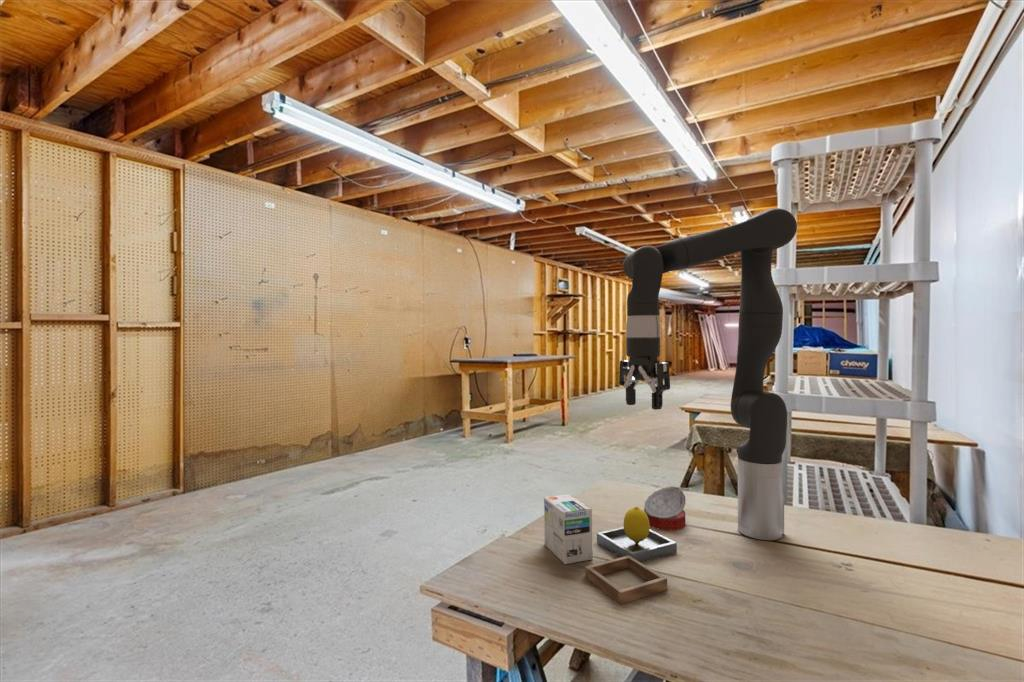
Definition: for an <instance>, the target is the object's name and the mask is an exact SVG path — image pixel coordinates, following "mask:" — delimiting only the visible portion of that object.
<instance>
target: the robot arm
mask: <svg viewBox="0 0 1024 682" xmlns="http://www.w3.org/2000/svg"><path fill="white" fill-rule="evenodd" d="M797 230H798V223H797V220H796V218H795V216H794V215H793V213H791V212H790V211H788V209H783V208H778V207H777V208H776V207H775V208H770V209H766V210H763V211H761V212H759V213H757V214H754V215H753V216H750V217H749V218H747V219H746V220H745V221H742V222H739V223H736V224H732V225H729V226H724V227H721V228H718V229H717V228H716V229H712V230H709V231H705V232H704V231H703V232H700V233H695V234H691V235H686V236H683V237H679V238H675V239H672V240H669V241H667V242H665V243H664V244H660V245H656V246H652V245H644V246H641V247H639V248H637V249H635V250H633V251H631V252H629V254H627V255H626V256H625V258H624V260H623V263H622V270H623V272H624V274H625V276H626V277H627V278H629V279H630V280H632V282H631V289H630V291H629V292H628V294H627V298H626V316H627V317H626V322H625V323H626V324H625V354H626V355H625V356H627V357H629V359H623V360H620V361H619V371H618V374H619V375H618V385H619V386H623V388H624V389H625V402H626V405H627V406H633V405H636V403H637V402H636V401H637V398H636V395H637V394H636V388H635V387H636V385H637V384H638V382H640V381H643V382H645V383H646V385H648V386H649V387H650V389H651V391H652V392H651V409H652V410H656V411H657V410H661V409H662V408H663V393H664V392H665V391H669V390H670V389H671V379H670V378H671V377H670V363H669V362H659V361H658V357H660V356H661V323H660V308H659V306H660V303H659V295H660V291H661V286H662V280H663V275H664V274H667V273H668V272H673V271H679V270H680V271H681V270H685V269H688V268H691V267H695V266H699V265H703V264H706V263H708V262H712V261H715V260H717V259H720V258H723V257H726V256H729V255H732V254H736V253H739V252H740V269H741V275H740V276H741V277H740V278H741V279H740V295H739V296H740V297H739V298H740V300H739V309H738V310H739V312H738V330H737V331H738V333H737V334H738V339H737V350H736V352H737V353H736V365H735V375H734V380H733V386H732V392H731V397H730V398H731V399H730V413H731V416H732V418H733V419H732V420H734V422H735V423H736V424H737V425H739V426H741V427H744V428H747V429H749V437H748V441H747V442H745V443H741V444H739V445H738V447H737V530H738V531H739V533H741V534H742V535H744V536H745V537H748V538H752V539H756V540H760V541H776V540H780V539H782V537H783V534H785V493H784V492H783V464H782V463H783V453H785V452H784V451H785V449H786V445H787V431H788V410H787V406H786V403H785V401H784V399H783V398H782V397H781V395H779V394H778V393H775V392H771V391H770V392H769V391H765V390H764V380H765V378H764V377H765V371H766V368H767V365H768V363H769V361H770V359H771V357H772V356H773V354H774V352H775V351H776V348H777V346H778V345H779V342H780V341H781V337H782V334H783V320H784V319H783V317H784V307H783V302H782V299H781V295H780V294H779V291H778V289H777V287H776V284H775V282H774V279H773V276H772V259H773V251H774V250H777V249H780V248H783V247H784V246H786V245H788V244H789V243H790V242H791V241H792V240H793V239H794V238H795V236H796V234H797Z"/></svg>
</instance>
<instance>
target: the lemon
mask: <svg viewBox="0 0 1024 682" xmlns="http://www.w3.org/2000/svg"><path fill="white" fill-rule="evenodd" d="M623 517H624V518H623V527H624V531H625V533H626V535H627V537H628V538H629V539H631V540H632V541H634V542H635V543H636V544H638V543H639V542H640V541H643V540H645V539H646V538H647V536H648V534H649V530H650V529H651V527H650V524H649V519H648V516H647V514H646V513H645V512H644V509H642V508H639V507H638V506H634V507H632V508H630V509H629V510H627V511H626V512H625V514H624V516H623Z"/></svg>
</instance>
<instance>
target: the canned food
mask: <svg viewBox="0 0 1024 682" xmlns="http://www.w3.org/2000/svg"><path fill="white" fill-rule="evenodd" d="M686 505H687V504H686V495H685V493H684V491H683V490H682V489H680V487H678V486H677V487H676V486H672V485H671V486H667V487H663V488H661V489H658V490H655V491H654V492H653V493H651V494H650V495H649V496H648V497H647V499H646V500H645V502H644V506H643V507H644V509H643V511H644V512H645V513H646V514H647V516H648V519H649V524H650V526H651V527H650V528H653V527H654V528H653V529H656V528H659V529H658V530H660V529H665V530H664V531H679V530H682V529H684V528H685V527H686V511H685V510H684V508H685V506H686ZM678 529H679V530H678Z"/></svg>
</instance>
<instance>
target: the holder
mask: <svg viewBox="0 0 1024 682" xmlns="http://www.w3.org/2000/svg"><path fill="white" fill-rule="evenodd" d="M626 569H630V570H631V571H632V572H634V573H636V574H637V575H639V576H641V577H642V578H643V579H645V580H647V581H644V582H642V583H641V582H640V583H639V584H638V583H637V584H635V585H632V586H628V587H626V588H620V587H619V586H618V585H617V584H615V583H614V582H612V581H610V580H609V579H608V578H606V577H605V576H604V575H607V574H611V573H615V572H618V571H622V570H626ZM584 570H585V571H584V572H585V573H584V574H585V575H584V577H585V579H587V580H588V581H589V582H591V583H593V584H594V585H595V586H596V587H597V588H599V589H600V590H602V591H603V592H604V593H606V595H608V596H609V597H611V598H612V599H613V600H614V601H616V602H617V603H619V604H620V605H624V604H626V603H629V602H632V601H635V600H639V599H642V598H646V597H648V596H651V595H655V594H657V593H658V594H659V593H662V592H665V591H667V590H668V578H667V577H665V576H664V575H662V574H660V573H659V572H657V571H655V570H654V569H652V568H651V567H649V566H647V565H646V564H644V563H643V562H642V563H641V562H639V561H637V560H636V559H634V558H632V557H631V556H629V555H628V556H625V557H621V558H620V557H618V558H614V559H610V560H606V561H601V562H599V563H595V564H591V565H587V566H585V567H584Z"/></svg>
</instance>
